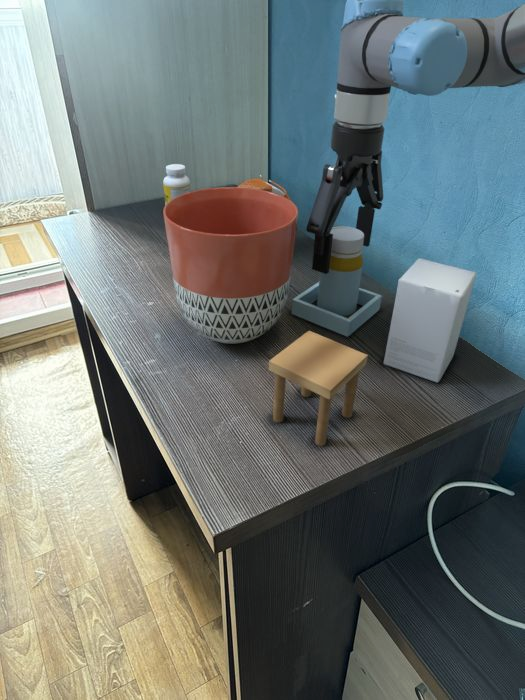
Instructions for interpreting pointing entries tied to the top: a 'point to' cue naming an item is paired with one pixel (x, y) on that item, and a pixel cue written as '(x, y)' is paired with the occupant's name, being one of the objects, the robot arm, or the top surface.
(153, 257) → the top surface
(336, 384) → the stool
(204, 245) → the planter
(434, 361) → the rectangular carton
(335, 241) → the bottle
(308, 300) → the square tray frame
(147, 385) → the top surface
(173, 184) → the pill bottle
